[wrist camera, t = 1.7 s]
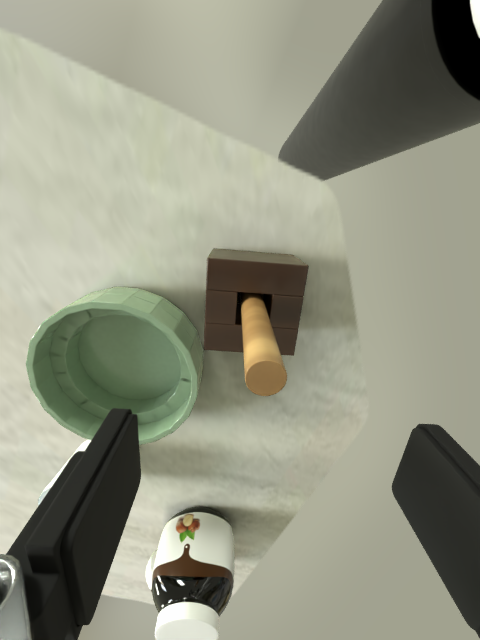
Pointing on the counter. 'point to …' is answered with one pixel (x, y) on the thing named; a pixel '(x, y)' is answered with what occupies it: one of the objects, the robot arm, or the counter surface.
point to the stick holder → (252, 277)
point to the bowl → (117, 362)
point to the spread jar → (192, 575)
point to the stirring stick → (260, 348)
